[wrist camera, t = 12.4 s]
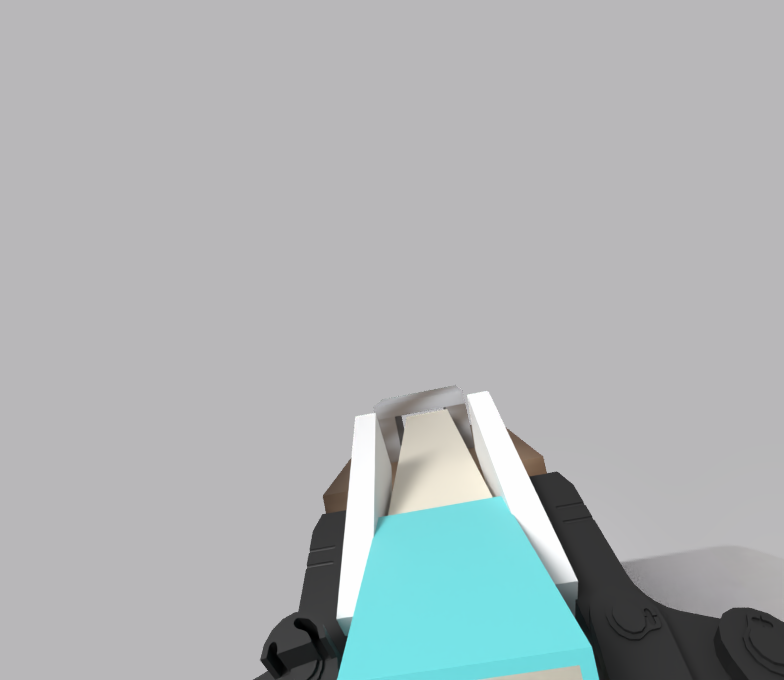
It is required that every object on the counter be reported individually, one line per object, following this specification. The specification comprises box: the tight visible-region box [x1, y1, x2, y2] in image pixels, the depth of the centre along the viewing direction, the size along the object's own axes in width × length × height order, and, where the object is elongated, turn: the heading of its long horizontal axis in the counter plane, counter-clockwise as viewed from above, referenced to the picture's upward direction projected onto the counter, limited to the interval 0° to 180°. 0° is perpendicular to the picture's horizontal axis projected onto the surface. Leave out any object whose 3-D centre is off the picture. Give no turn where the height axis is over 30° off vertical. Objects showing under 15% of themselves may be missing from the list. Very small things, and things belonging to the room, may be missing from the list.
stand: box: [323, 386, 547, 514], centre depth 29 cm, size 14×14×34 cm
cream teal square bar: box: [337, 409, 599, 680], centre depth 16 cm, size 3×22×3 cm, turn 175°
